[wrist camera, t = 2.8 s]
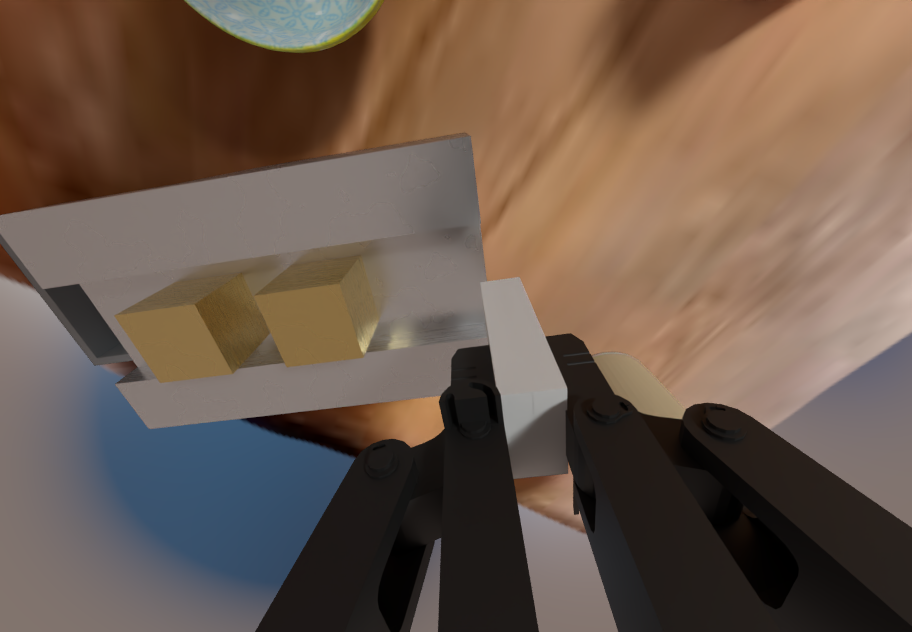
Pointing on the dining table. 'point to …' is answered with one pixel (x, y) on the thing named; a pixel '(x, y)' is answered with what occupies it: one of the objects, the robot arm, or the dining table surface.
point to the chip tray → (78, 318)
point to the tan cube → (320, 311)
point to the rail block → (270, 253)
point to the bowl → (289, 21)
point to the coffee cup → (638, 385)
